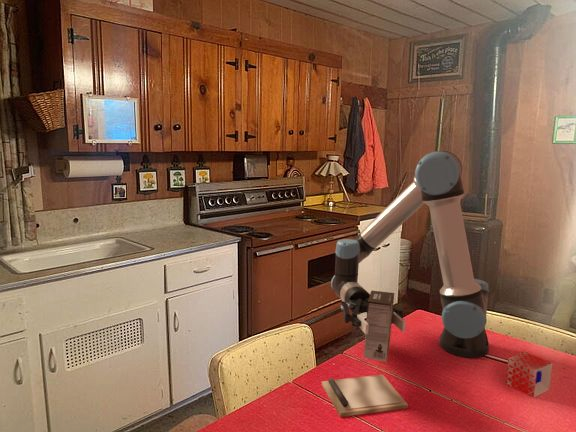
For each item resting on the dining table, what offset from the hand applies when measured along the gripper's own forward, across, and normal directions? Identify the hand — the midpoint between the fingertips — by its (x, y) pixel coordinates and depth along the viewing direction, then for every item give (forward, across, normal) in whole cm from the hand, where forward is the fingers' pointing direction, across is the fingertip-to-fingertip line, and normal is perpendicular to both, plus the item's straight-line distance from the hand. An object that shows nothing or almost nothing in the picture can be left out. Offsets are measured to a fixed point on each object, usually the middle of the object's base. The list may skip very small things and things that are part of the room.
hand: (385, 328), depth 118 cm
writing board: (0, +5, -18) cm, 19 cm away
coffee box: (-4, 0, -9) cm, 10 cm away
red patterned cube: (+4, -41, -18) cm, 45 cm away
